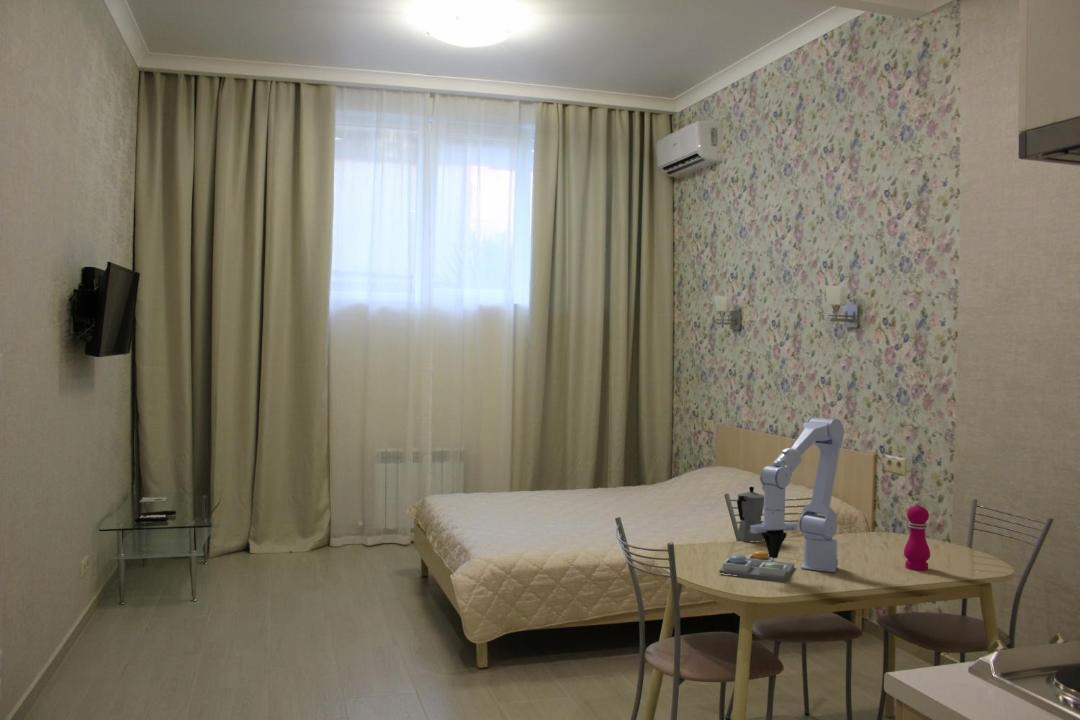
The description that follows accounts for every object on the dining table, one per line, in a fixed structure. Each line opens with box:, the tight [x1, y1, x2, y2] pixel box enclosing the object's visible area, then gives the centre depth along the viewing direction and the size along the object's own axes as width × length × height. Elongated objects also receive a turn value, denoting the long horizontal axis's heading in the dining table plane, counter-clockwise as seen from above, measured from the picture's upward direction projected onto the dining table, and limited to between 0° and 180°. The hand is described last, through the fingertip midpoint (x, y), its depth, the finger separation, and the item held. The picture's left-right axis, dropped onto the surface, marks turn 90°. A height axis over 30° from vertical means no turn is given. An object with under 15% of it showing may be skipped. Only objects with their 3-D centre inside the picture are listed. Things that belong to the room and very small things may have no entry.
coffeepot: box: [736, 486, 765, 543], centre depth 294 cm, size 15×9×18 cm, turn 138°
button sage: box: [765, 562, 782, 569], centre depth 245 cm, size 5×5×2 cm
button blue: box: [728, 554, 747, 564], centre depth 249 cm, size 5×5×2 cm
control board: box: [718, 553, 795, 583], centre depth 251 cm, size 18×19×3 cm
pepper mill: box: [903, 500, 931, 572], centre depth 258 cm, size 7×7×20 cm
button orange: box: [751, 550, 769, 560], centre depth 255 cm, size 5×5×2 cm
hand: (773, 557), depth 245 cm, fingers closed
